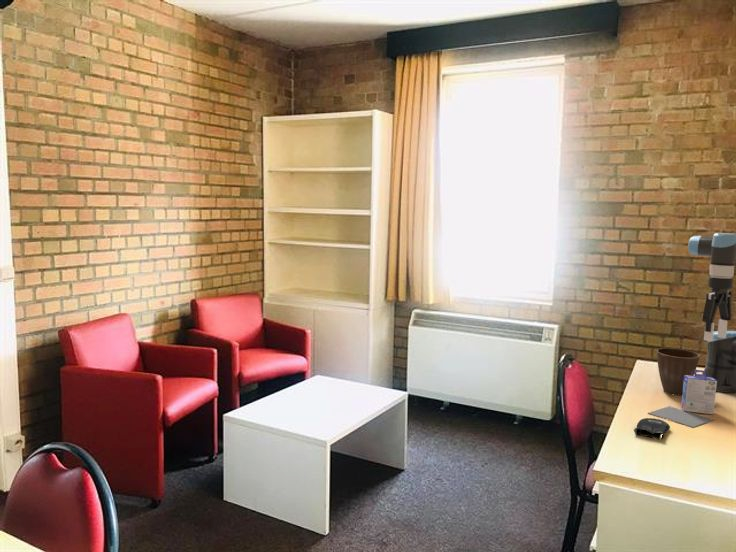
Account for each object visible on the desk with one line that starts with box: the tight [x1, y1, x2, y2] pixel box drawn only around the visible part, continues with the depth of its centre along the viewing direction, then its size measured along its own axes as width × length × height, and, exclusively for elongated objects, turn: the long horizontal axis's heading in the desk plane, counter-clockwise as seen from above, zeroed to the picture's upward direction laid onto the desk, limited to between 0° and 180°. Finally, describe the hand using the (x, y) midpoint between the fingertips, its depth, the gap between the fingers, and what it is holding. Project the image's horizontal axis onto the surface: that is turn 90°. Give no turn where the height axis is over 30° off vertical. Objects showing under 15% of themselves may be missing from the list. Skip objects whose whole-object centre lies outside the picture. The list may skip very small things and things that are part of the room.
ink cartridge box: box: [680, 369, 717, 415], centre depth 227 cm, size 10×6×14 cm, turn 78°
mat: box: [647, 405, 715, 429], centre depth 221 cm, size 14×16×1 cm
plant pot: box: [656, 347, 700, 396], centre depth 248 cm, size 15×15×16 cm
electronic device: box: [633, 417, 671, 440], centre depth 206 cm, size 9×6×15 cm
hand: (714, 339), depth 229 cm, fingers open, 9 cm apart
